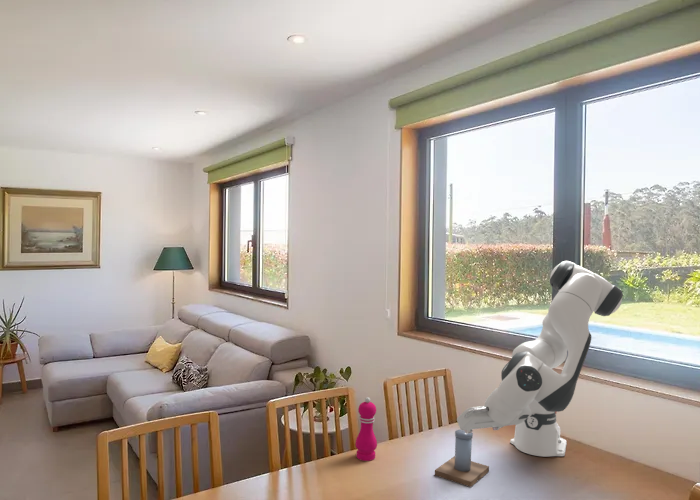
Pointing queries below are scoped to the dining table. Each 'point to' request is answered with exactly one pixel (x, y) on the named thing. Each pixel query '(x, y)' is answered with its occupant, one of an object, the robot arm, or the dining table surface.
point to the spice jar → (463, 450)
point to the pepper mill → (366, 432)
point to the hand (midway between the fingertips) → (480, 429)
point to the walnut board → (460, 476)
